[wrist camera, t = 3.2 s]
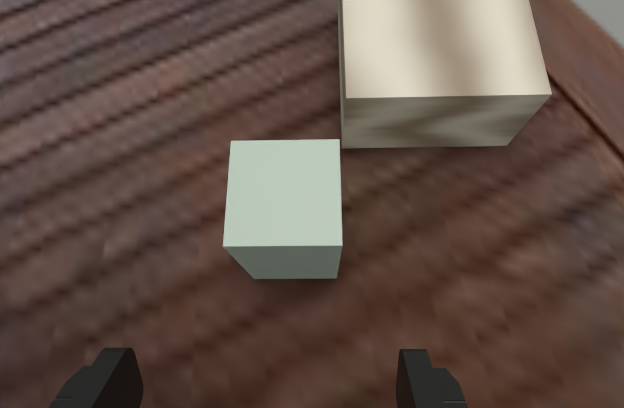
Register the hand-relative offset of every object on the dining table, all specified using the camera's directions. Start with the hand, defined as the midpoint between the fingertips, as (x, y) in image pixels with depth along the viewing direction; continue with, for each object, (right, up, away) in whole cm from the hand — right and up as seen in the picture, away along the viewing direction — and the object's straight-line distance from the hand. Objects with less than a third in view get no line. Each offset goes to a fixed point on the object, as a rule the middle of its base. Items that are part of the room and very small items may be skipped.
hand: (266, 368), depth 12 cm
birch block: (+9, +14, +17) cm, 24 cm away
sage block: (0, +3, +13) cm, 13 cm away
